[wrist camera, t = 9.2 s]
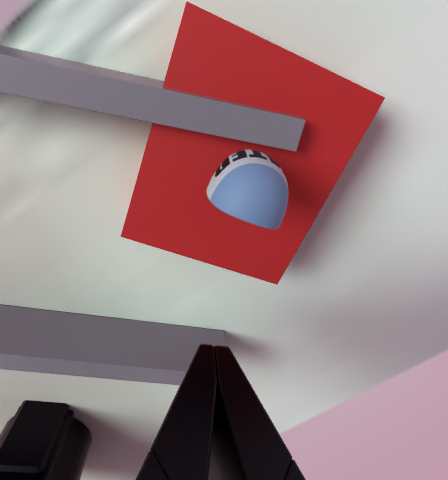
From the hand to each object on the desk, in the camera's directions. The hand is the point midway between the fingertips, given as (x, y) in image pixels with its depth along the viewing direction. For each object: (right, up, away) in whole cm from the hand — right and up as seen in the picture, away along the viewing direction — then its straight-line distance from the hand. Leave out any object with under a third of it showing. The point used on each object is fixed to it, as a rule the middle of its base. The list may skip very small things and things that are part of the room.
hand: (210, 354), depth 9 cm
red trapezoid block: (+1, +7, +5) cm, 9 cm away
